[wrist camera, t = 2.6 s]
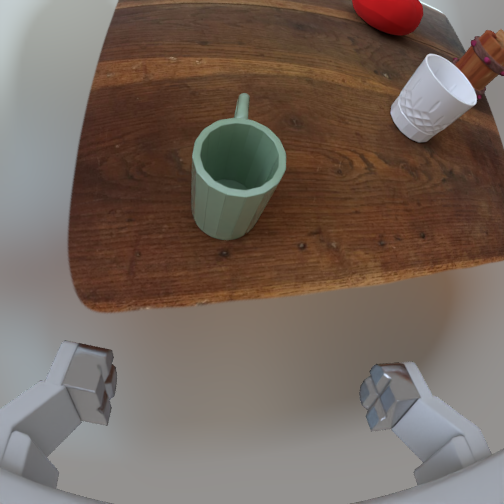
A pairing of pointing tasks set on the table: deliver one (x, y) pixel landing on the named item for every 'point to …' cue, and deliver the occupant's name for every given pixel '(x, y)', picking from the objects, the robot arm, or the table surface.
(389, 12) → the tomato
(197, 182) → the enamel mug
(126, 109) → the table surface
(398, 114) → the white cup
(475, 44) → the mug
